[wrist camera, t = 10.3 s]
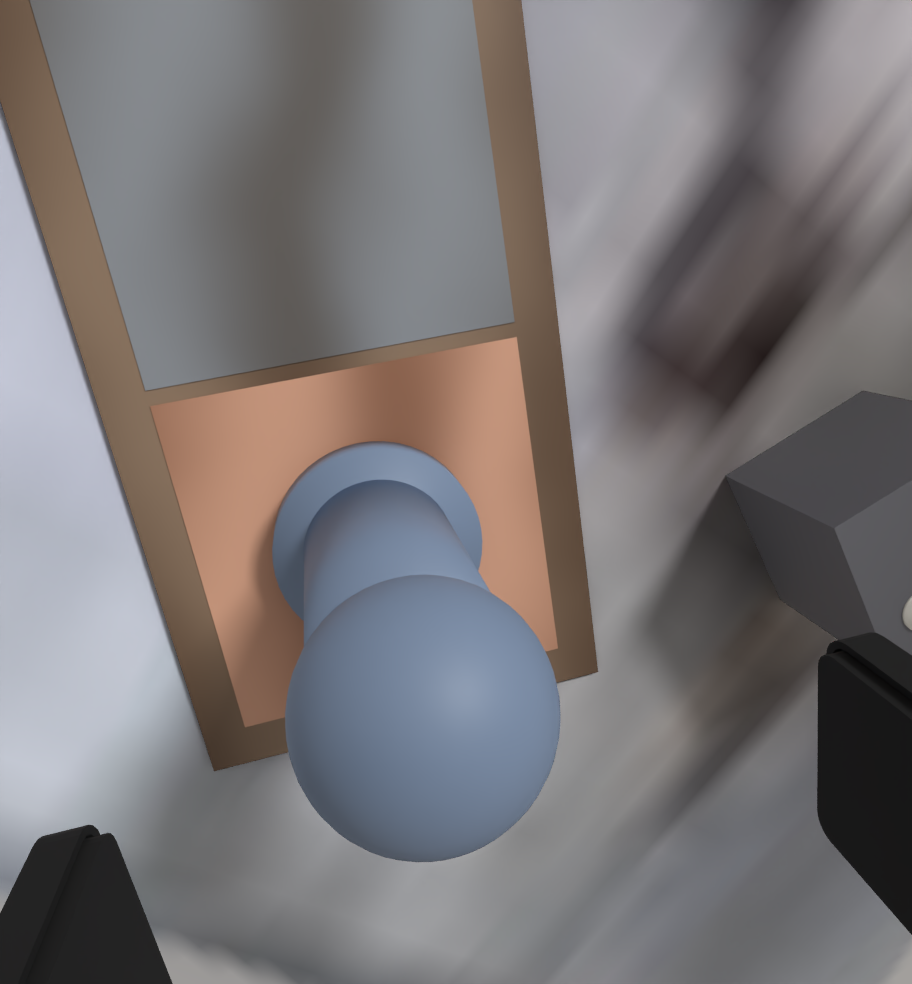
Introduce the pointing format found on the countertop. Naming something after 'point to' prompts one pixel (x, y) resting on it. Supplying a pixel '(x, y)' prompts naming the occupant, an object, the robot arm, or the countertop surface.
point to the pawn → (407, 660)
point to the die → (839, 517)
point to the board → (301, 293)
